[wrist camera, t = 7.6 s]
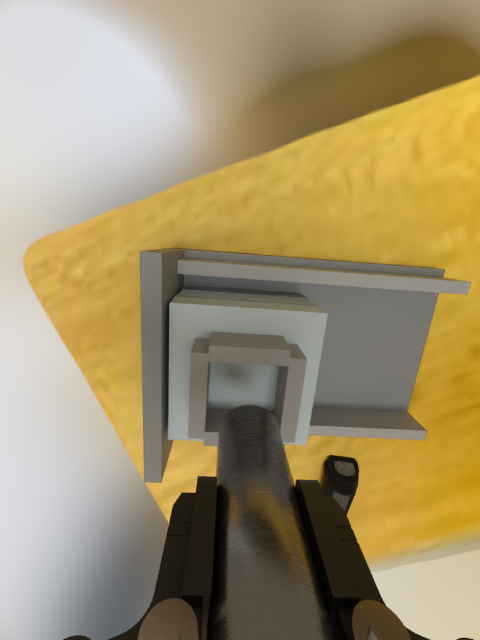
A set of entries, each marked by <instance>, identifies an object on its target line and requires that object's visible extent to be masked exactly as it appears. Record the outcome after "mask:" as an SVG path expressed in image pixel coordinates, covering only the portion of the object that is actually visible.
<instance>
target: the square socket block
mask: <svg viewBox="0 0 480 640" xmlns="http://www.w3.org/2000/svg"><path fill="white" fill-rule="evenodd" d="M327 316H328V313H327V312H326V311H324V310H323V309H321V307H320V306H319V305H318V304H315V303H313V302H312V301H310V300H309V298H308V297H305V296H304V295H302V294H298V293H284V292H270V291H255V290H241V289H227V288H213V287H199V286H186V287H185V288H182V289H181V292H180V293H179V294H178V295H175V296H174V299H173V300H172V301H171V302H170V305H169V413H168V440H189V441H204V446H218V433H219V426H220V423H221V421H222V419H223V417H224V416H225V415H226V414H227V413H228V412H230V411H231V410H233V409H234V408H237V407H239V406H243V405H256V406H260V407H263V408H265V409H267V410H268V411H270V412H271V413H272V414H273V415H274V417H275V418H276V420H277V422H278V426H279V429H280V433H281V437H282V441H283V444H284V445H306V444H307V437H308V431H309V425H310V419H311V413H312V407H313V401H314V395H315V389H316V383H317V377H318V371H319V365H320V359H321V352H322V346H323V340H324V334H325V328H326V322H327Z"/></svg>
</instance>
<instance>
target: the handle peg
mask: <svg viewBox="0 0 480 640" xmlns="http://www.w3.org/2000/svg"><path fill="white" fill-rule="evenodd" d="M216 477H218V478H217V498H216V517H215V537H214V556H213V576H212V595H211V610H210V617H209V619H208V623H207V634H206V640H335V636H334V633H333V629H332V625H331V621H330V617H329V614H328V610H327V606H326V602H325V599H324V595H323V591H322V587H321V584H320V580H319V576H318V572H317V569H316V565H315V561H314V557H313V554H312V550H311V546H310V542H309V538H308V535H307V531H306V527H305V523H304V520H303V516H302V512H301V508H300V505H299V501H298V497H297V493H296V490H295V486H294V482H293V478H292V475H291V471H290V467H289V463H288V459H287V456H286V452H285V448H284V444H283V441H282V437H281V433H280V429H279V426H278V422H277V420H276V418H275V417H274V415H273V414H272V413H271V412H270V411H268V410H267V409H265V408H263V407H260V406H256V405H243V406H239V407H237V408H234V409H233V410H231V411H230V412H228V413H227V414H226V415H225V416H224V417H223V419H222V421H221V423H220V426H219V433H218V450H217V467H216Z"/></svg>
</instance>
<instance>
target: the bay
mask: <svg viewBox="0 0 480 640" xmlns="http://www.w3.org/2000/svg"><path fill="white" fill-rule="evenodd" d="M444 272H445V269H437V268H424V267H411V266H398V265H385V264H372V263H359V262H346V261H333V260H320V259H307V258H294V257H281V256H268V255H255V254H242V253H229V252H216V251H203V250H190V249H178V248H168V249H159V250H149V251H140V281H141V335H142V389H143V443H144V482H155V483H161V482H162V478H163V475H164V471H165V468H166V465H167V461H168V458H169V454H170V451H171V447H172V444H173V440H168V413H169V305H170V302H171V301H172V300H173V299H174V296H175V295H178V294H179V293H180V292H181V289H182V288H185V287H186V286H199V287H213V288H227V289H241V290H255V291H270V292H284V293H298V294H302V295H304V296H305V297H308V298H309V300H310V301H312V302H313V303H315V304H318V305H319V306H320V307H321V309H323V310H324V311H326V312H327V313H328V316H327V322H326V328H325V334H324V340H323V346H322V352H321V359H320V365H319V371H318V377H317V383H316V389H315V395H314V401H313V407H312V413H311V419H310V425H309V431H308V435H319V436H342V437H365V438H388V439H410V440H425V436H426V433H427V430H426V429H425V428H424V427H423V426H422V425H420V424H419V423H418V422H417V421H416V420H415V419H414V418H413V417H412V416H411V415H410V414H409V413H408V412H407V410H408V406H409V403H410V399H411V395H412V391H413V388H414V384H415V380H416V377H417V373H418V369H419V365H420V362H421V358H422V354H423V350H424V347H425V343H426V339H427V336H428V332H429V328H430V324H431V321H432V317H433V313H434V309H435V306H436V302H437V298H438V295H439V293H450V294H464V295H467V294H468V291H469V288H470V284H471V282H467V281H461V280H455V279H449V278H443V276H444Z"/></svg>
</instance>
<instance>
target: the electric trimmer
mask: <svg viewBox="0 0 480 640" xmlns="http://www.w3.org/2000/svg"><path fill="white" fill-rule="evenodd" d="M358 474H359V468H358V463H357V461H356V460H355V459H354V458H349V457H342V456H333V455H331V456H330V457H329V459H328V460H326V461H325V475H326V482H325V486H324V489H323V495H324V497H333V498H334V499H335V500H336V501H337V502H338V504H339V505H340V506H341V507H342V508H343V509H344V511H345V513H346V515H347V513H348V510H349V508H350V505H351V503H352V501H353V498H354V496H355V493H356V489H357V486H358V479H359V477H358Z"/></svg>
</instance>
